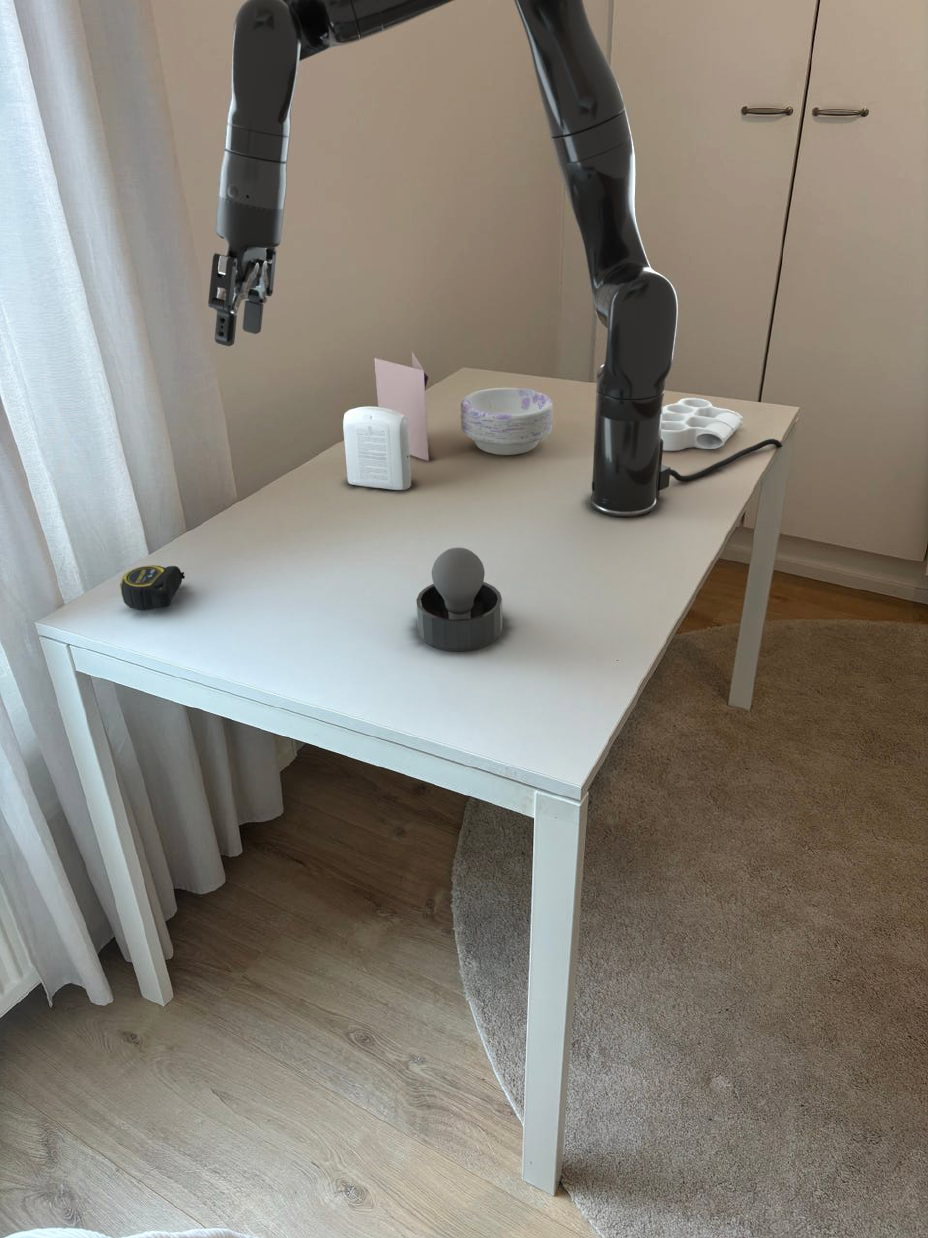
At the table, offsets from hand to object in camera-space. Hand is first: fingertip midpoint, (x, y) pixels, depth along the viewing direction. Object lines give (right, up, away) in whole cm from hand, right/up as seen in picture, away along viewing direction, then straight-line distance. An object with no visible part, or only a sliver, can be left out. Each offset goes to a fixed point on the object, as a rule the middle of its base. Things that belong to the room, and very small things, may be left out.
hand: (238, 337), depth 117 cm
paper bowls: (+35, -6, +44) cm, 56 cm away
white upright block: (+15, -14, +31) cm, 37 cm away
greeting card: (+18, -6, +43) cm, 47 cm away
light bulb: (+27, -36, -6) cm, 45 cm away
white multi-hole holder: (+66, -3, +45) cm, 81 cm away
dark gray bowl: (+27, -36, -6) cm, 45 cm away
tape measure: (-10, -33, +2) cm, 34 cm away
